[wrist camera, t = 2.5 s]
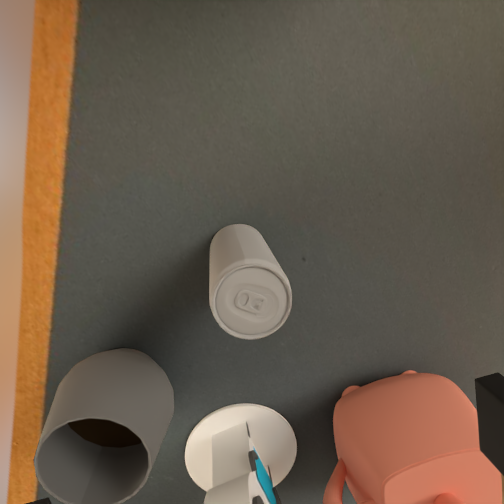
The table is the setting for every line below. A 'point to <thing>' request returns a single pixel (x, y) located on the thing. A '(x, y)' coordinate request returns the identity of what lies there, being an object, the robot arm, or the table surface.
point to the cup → (105, 428)
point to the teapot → (410, 445)
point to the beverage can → (247, 284)
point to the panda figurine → (241, 454)
